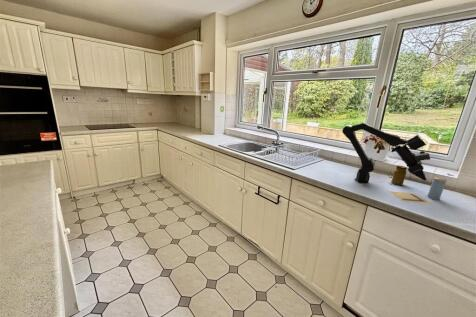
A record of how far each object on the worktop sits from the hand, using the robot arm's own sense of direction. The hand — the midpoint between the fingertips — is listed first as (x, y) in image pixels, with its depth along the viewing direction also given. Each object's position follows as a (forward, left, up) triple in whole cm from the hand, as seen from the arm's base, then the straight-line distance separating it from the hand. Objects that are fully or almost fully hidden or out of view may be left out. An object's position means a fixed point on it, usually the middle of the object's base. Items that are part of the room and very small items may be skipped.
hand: (424, 177), depth 115 cm
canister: (+5, -3, -11) cm, 12 cm away
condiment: (-1, +16, -11) cm, 19 cm away
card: (-9, -5, -11) cm, 15 cm away
